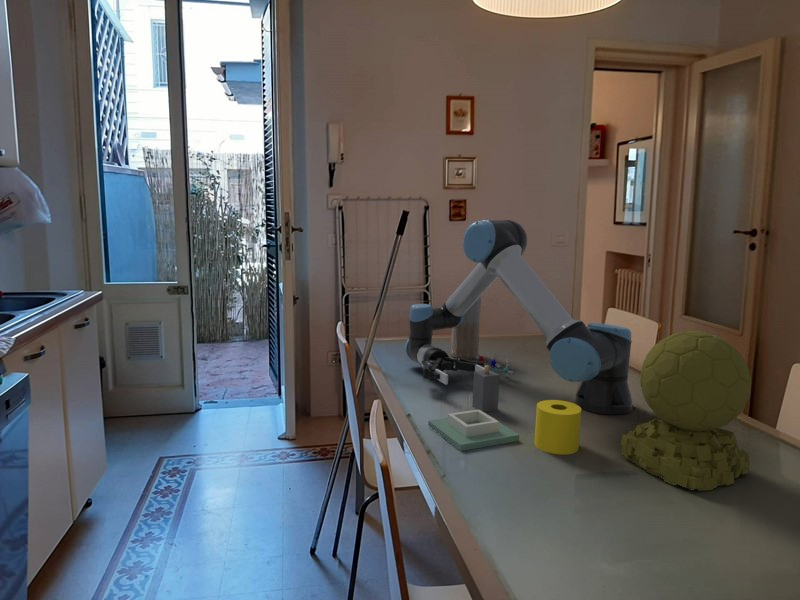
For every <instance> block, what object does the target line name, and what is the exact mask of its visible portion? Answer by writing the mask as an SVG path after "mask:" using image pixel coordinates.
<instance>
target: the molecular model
mask: <svg viewBox="0 0 800 600" xmlns="http://www.w3.org/2000/svg"><path fill="white" fill-rule="evenodd" d="M497 358H498V354H496V353H495V354H493V360H491V362H490V364H487V363H486V361H485V357H484V356H479V355H478V356H476V358H475V359H476V360H479V362H481V363H484V366H485V365H488V366H489V370H491V371H493V372H495V373H497V374H498V372H503V373H504V377H505V378H509V377H510V376H509V375H511V376H513V375H514V371H513V370H510V369H509V365H510V363H511V362H510V360H506V362H505V363H506V366H505V367H504V368H503V369H498V368H501V364H500V363H497V361H496V360H497ZM491 366H492V367H491Z"/></svg>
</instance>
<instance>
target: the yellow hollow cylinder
mask: <svg viewBox="0 0 800 600" xmlns="http://www.w3.org/2000/svg"><path fill="white" fill-rule="evenodd" d="M535 416H536V417H535V430H534V441H533V442H534V443H533V444H534V446H535V447H536V448H537V449H539V450H541V451H543V452H545V453H549V454H552V455H572V454H575V453H577V452H578V451H579V447H580V436H581V435H580V433H581V423H582V421H581V420H582V408H581V407H579V406H578V405H576V403H575V402H574V403H573V402H571V401H566V400H560V399H545V400H542V401H539V402H537V403H536V413H535Z"/></svg>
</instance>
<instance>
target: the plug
mask: <svg viewBox="0 0 800 600" xmlns="http://www.w3.org/2000/svg"><path fill="white" fill-rule="evenodd" d="M484 368H485V370H483V371H475V372H473V385H472V405H471V406H472V408H474V410H481V411H482V412H484V413H488V412H489V413H490V412H495V411H498V410H499V392H500V374H499V373H498V372H497V373H495V372H493V371H492V370H491V369H489V366H488V365H485V364H484Z"/></svg>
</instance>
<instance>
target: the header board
mask: <svg viewBox="0 0 800 600" xmlns="http://www.w3.org/2000/svg"><path fill="white" fill-rule="evenodd" d="M427 425H428V426H430V427H431V428H432V429H433V430H435V431H436V432H437V433H439V434H440V435H441V436H442V437H441V436H440V435H439V434H438V435H439V436H440V437H441V438H443V437H444V438H445V439H446V440H447V441H446V440H445V439H444V438H443V439H444V440H445V441H446V442H448V441H449V442H450V443H451V444H450V443H449V442H448V443H449V444H450V445H452V446H453V445H454V446H455V449H457V450H458V451H459V450H460V451H459V452H463V450H464V451H469V450H474V449H480V448H485V447H486V448H487V447H492V446H496V445H503V444H508V443H514V442H519V441H520V434H518V433H517V432H515V431H513V430H512V429H510V427H508V426H506V425H504V424H502V423H501V422H499V421H498V420H497V419H496V418H494V417H492V416H491V415H489V414H487V412H482V411H481V410H477V409H473V410H466V411H459V412H453V413H452V412H451V413H447V417H444V418H443V417H442V418H438V419H431V420H428V422H427ZM430 427H429V428H430ZM431 428H430V429H431ZM432 429H431V430H432ZM433 430H432V431H433ZM435 431H434V432H435ZM436 432H435V433H436ZM437 433H436V434H437ZM454 446H453V447H454Z"/></svg>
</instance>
